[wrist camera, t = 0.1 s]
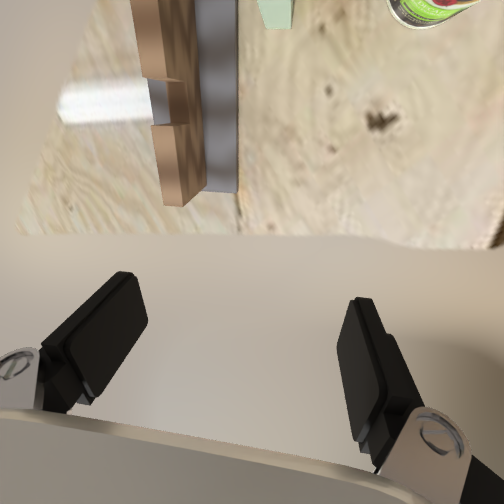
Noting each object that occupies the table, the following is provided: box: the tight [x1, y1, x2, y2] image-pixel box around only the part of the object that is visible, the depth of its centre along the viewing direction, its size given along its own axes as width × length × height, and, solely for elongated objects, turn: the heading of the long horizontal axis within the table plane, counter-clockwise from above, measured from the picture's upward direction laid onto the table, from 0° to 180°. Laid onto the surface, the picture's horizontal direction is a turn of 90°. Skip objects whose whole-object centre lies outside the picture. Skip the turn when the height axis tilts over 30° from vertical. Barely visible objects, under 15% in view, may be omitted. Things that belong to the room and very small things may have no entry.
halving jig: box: [130, 0, 238, 207], centre depth 30 cm, size 24×12×12 cm, turn 178°
